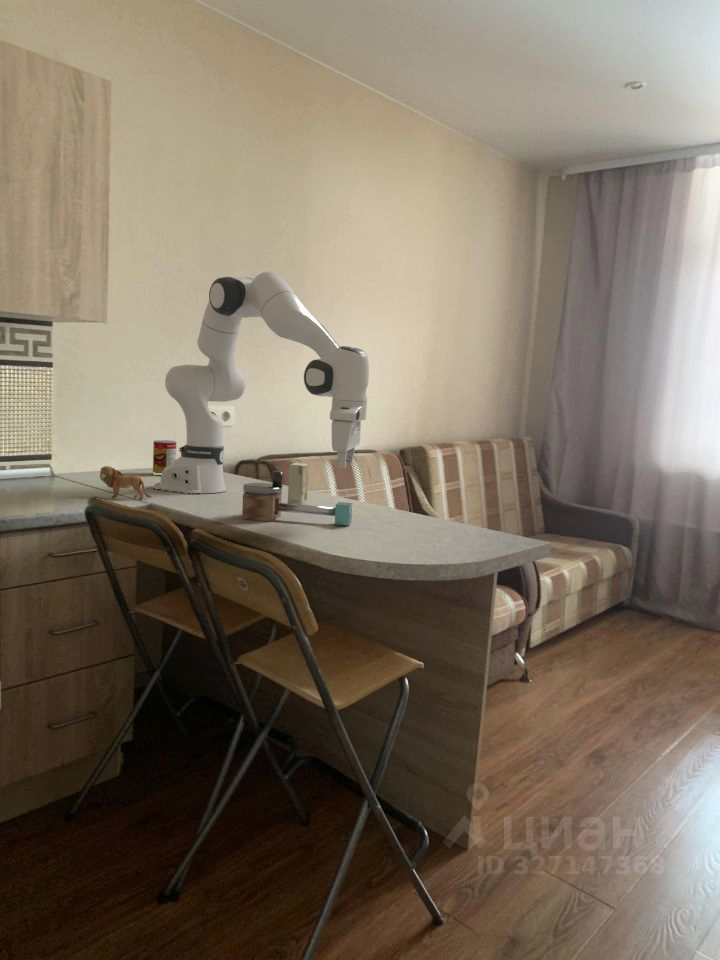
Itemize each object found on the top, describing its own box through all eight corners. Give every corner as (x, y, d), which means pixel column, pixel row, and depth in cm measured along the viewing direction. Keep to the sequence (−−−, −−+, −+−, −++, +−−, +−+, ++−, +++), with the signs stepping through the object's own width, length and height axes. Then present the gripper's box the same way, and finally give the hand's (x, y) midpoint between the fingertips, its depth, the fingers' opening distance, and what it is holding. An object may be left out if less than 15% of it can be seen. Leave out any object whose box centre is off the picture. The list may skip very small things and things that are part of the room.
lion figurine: (96, 498, 206) (96, 466, 205) (102, 495, 211) (102, 464, 210) (148, 500, 207) (149, 469, 205) (153, 497, 212) (154, 467, 211)
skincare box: (301, 508, 208) (303, 465, 207) (286, 506, 209) (288, 464, 207) (307, 504, 214) (309, 463, 213) (293, 503, 215) (295, 462, 214)
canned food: (161, 472, 264) (161, 439, 262) (180, 474, 262) (180, 441, 260) (148, 474, 257) (148, 441, 255) (167, 476, 254) (168, 442, 253)
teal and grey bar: (277, 519, 188) (277, 499, 187) (281, 516, 192) (282, 497, 191) (348, 525, 185) (349, 505, 184) (351, 522, 189) (352, 503, 188)
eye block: (242, 519, 188) (243, 493, 187) (251, 513, 195) (252, 489, 195) (272, 521, 186) (273, 495, 185) (280, 516, 194) (281, 491, 193)
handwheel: (275, 496, 184) (276, 474, 183) (237, 492, 186) (238, 471, 185) (287, 490, 194) (288, 470, 193) (251, 487, 196) (252, 467, 195)
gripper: (344, 409, 194) (341, 460, 196) (328, 412, 174) (325, 469, 176) (367, 411, 193) (364, 462, 195) (354, 414, 173) (350, 471, 175)
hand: (345, 466), depth 186 cm, fingers open, 8 cm apart
